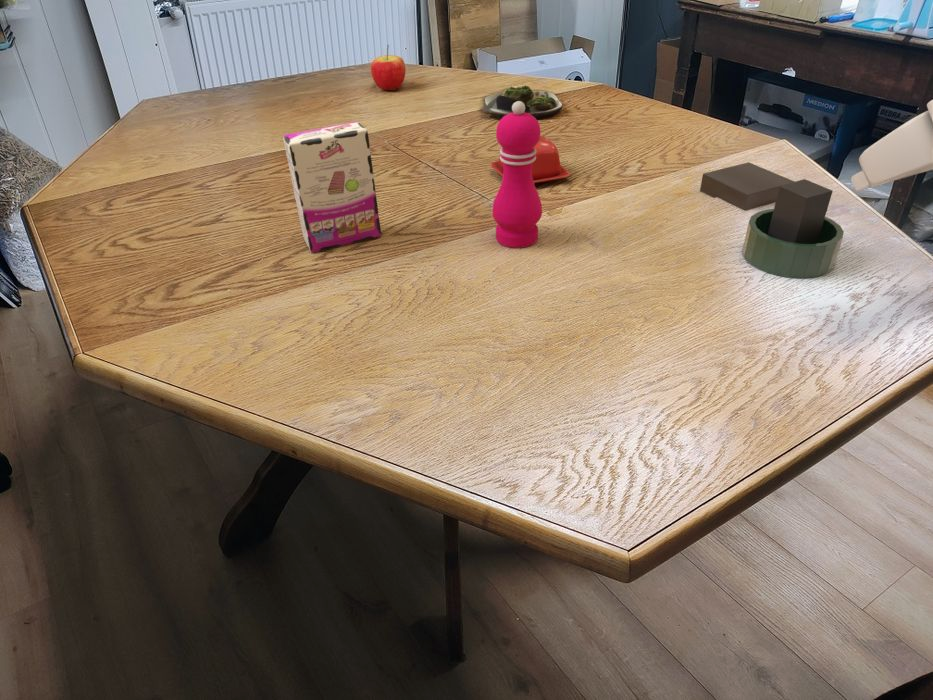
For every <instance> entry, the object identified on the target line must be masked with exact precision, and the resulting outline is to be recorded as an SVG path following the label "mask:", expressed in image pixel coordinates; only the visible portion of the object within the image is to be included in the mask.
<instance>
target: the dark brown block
mask: <svg viewBox="0 0 933 700" xmlns="http://www.w3.org/2000/svg"><path fill="white" fill-rule="evenodd" d="M832 195H833V189H830V188H828V187H825V186H823V185H820V184H818V183H815V182H813V181H811V180H809V179H805V178H804V179H800V180H796V181H795V182H792V183H788V184H785V185H781V186H780V187H779V191H778V195H777V199H776V202H774V203H775V204H774V206H773V207H774V208H773V209H774V211H773V215H772V219H771V223H770V227H769V231H768V236H770V237H772V238H776V239H779V240H782V241H786V242H791V243H797V244H817V242H818V238H819V235H820V232H821V228H822V225H823V222H824V218H825V217H826V215H827V212H828V209H829V205H830V201H831V199H832Z"/></svg>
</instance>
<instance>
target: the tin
mask: <svg viewBox="0 0 933 700" xmlns="http://www.w3.org/2000/svg"><path fill="white" fill-rule="evenodd" d="M773 211H774V208H768V209H764V210H761V211H760V210H759V211H757V212H755V213H754V214H752V215H751V216H750V218H749V221H748V223H747V228H746V231H745V232H746V233H745V236H744V242H743V245H742V249H741V252H742V256H743V258H744V260H745V261H746V262H747V264H749V265H751V266H752V267H754V268H755V269H757V270H759V271H761V272H764V273H766V274H770V275H773V276H777V277H780V278H788V279H802V280H803V279H805V280H806V279H814V278H819V277H822V276H825V275H827V274H828V273H830V272H831V271H832V270H834V269H833V268H834V266H835V263H836V260H837V257H838V254H839V251H840V247H841V244H842V241H843V238H844V229H843V228H842V227H841V225H840V224H838V223H837V222H836V221H835V220H834V219H831V218H829V217H827V216H825V218H824V222H823V225H822V228H821V232H820V235H819V238H818V242H817V244H797V243H791V242H786V241H782V240H779V239H776V238H772V237H770V236H768V231H769V227H770V223H771V219H772V215H773Z"/></svg>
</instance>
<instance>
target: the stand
mask: <svg viewBox="0 0 933 700" xmlns="http://www.w3.org/2000/svg"><path fill="white" fill-rule="evenodd" d="M792 182H796V181H794V180H792V179H790V178H788V177H786V176H782V175H780V174H778V173H775V172H773V171H771V170H768V169H765V168H763V167H761V166H759V165H757V164H754V163H752V162H744V163H740V164H736V165H732V166H728V167H724V168H720V169H715V170H712V171H708V172H704V173H702V177H701V183H700V188H699V189H700V190H699V191H700V192H702V193H704V194H706V195H708V196H709V197H712V198H714V199H716V198H717V199H720V200H721V201H724V202H725V203H728V204H730V205H731V206H734V207H736V208H738V209H740V210H742V211H745V212H746V211H749V210H752V209H756V208H760V207H763V206H767V205H771V204H774V203H776V199H777V195H778V191H779V187H780V186H781V185H785V184H788V183H792Z"/></svg>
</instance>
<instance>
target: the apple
mask: <svg viewBox="0 0 933 700" xmlns="http://www.w3.org/2000/svg"><path fill="white" fill-rule="evenodd" d="M386 46H387V47H386V55H380V56H377V57H375V58H374V59H372V61H371V65H370V73H371V77H372V80H373V82H374V83H375V85H376V86H377V87H378V88H379V89H381V90H383V89H384V90H383V91H387V90H391V91H393V90H392V89H396V90H397V89H399V88H400V87H401V86H402V85H403V83H404V80H405V78H406V64H405V63H406V62H405V61H404V59H403V58H402V57H401V56H398V55H394V54H392V55H391V54H389V44H387V45H386Z"/></svg>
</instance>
